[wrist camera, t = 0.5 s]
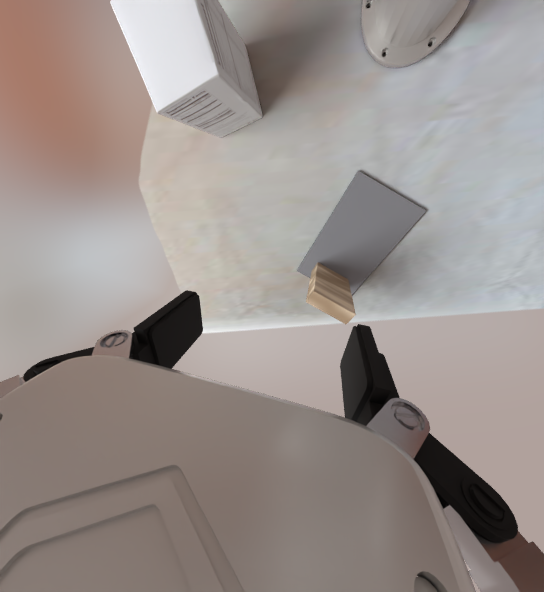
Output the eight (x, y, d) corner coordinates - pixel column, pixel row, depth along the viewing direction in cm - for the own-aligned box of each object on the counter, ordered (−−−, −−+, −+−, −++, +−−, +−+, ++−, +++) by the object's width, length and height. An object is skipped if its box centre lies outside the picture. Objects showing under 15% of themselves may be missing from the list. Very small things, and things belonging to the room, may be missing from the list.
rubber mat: (358, 170, 35) (358, 170, 34) (425, 210, 35) (426, 210, 35) (297, 269, 47) (296, 270, 46) (347, 298, 47) (347, 299, 47)
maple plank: (317, 262, 44) (313, 291, 32) (348, 279, 44) (355, 314, 33) (311, 271, 46) (305, 302, 34) (341, 288, 46) (345, 325, 34)
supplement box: (198, 73, 34) (104, -6, 20) (245, 42, 30) (174, -80, 16) (220, 140, 38) (155, 115, 24) (264, 118, 34) (219, 74, 20)
